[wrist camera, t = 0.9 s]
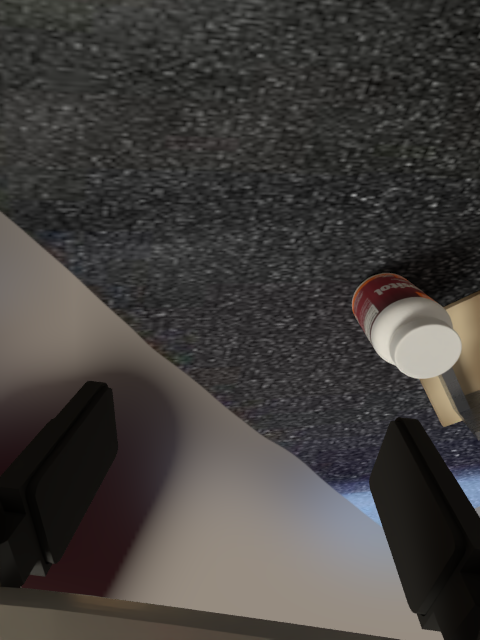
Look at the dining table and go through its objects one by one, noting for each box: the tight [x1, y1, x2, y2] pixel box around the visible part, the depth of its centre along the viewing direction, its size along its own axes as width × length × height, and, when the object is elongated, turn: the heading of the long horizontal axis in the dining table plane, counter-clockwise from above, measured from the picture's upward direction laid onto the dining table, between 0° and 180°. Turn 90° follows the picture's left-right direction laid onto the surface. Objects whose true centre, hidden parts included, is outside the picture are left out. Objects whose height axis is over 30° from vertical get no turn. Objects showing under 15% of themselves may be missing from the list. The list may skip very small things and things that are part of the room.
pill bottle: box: [352, 273, 462, 379], centre depth 28 cm, size 6×6×11 cm
